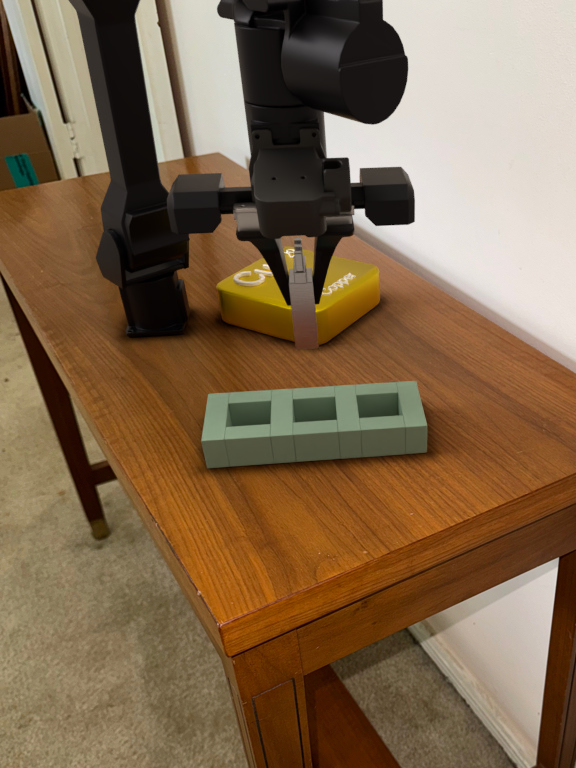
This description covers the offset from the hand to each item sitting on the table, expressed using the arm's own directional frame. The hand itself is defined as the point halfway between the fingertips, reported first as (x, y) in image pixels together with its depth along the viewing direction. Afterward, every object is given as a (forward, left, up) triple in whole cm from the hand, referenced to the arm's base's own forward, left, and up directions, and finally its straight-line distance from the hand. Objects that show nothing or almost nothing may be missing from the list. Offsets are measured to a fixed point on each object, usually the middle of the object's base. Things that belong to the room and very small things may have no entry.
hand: (303, 303), depth 65 cm
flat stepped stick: (0, 0, -4) cm, 4 cm away
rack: (0, -2, -12) cm, 13 cm away
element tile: (-1, +25, -13) cm, 29 cm away
